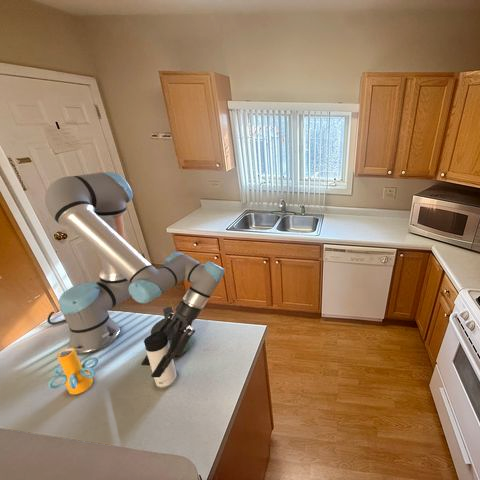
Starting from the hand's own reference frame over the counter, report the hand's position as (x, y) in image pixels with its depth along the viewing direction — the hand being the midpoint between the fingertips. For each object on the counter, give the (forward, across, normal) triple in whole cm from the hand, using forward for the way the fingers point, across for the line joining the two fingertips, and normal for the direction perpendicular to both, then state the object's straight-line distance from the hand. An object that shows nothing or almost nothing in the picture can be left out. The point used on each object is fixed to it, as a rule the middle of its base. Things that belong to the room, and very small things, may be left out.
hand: (150, 370), depth 81 cm
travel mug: (+3, 0, -9) cm, 9 cm away
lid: (-10, +12, -8) cm, 18 cm away
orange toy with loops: (+16, +19, +4) cm, 26 cm away
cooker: (-3, +12, -15) cm, 20 cm away
